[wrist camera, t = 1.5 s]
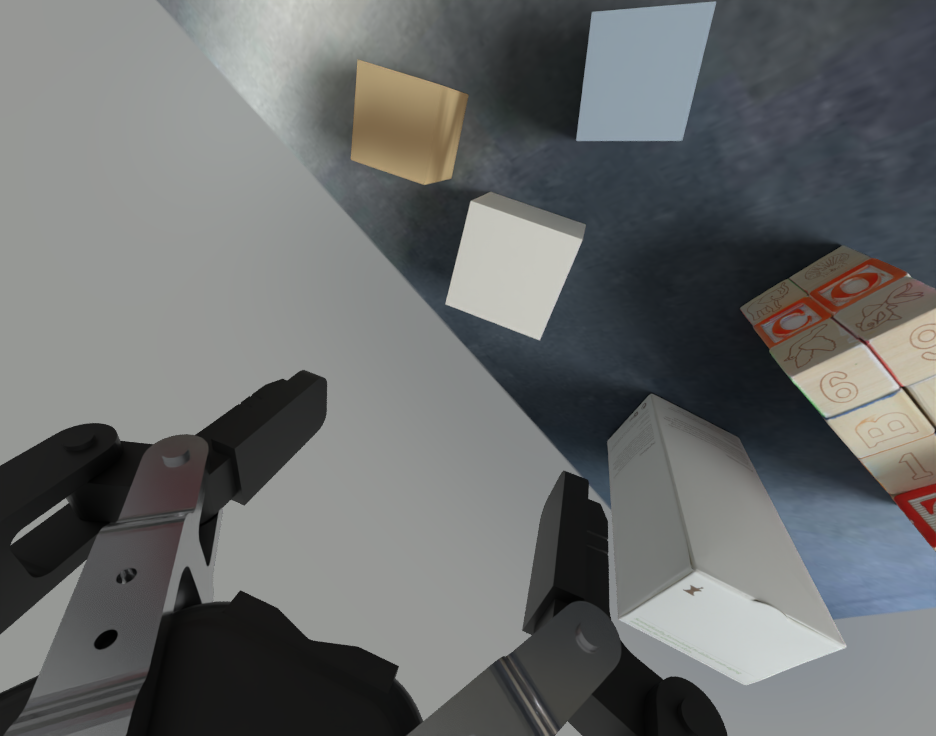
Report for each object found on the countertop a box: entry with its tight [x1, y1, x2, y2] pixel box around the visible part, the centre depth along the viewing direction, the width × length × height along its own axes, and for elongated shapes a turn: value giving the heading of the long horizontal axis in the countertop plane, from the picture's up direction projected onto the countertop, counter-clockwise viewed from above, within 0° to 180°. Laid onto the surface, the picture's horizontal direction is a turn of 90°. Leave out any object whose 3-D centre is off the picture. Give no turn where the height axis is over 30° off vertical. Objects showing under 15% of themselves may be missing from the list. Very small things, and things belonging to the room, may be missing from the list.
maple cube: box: [351, 60, 468, 185], centre depth 24 cm, size 5×5×5 cm
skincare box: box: [607, 394, 846, 685], centre depth 26 cm, size 8×7×16 cm
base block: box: [446, 192, 586, 340], centre depth 26 cm, size 7×7×5 cm
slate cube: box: [576, 2, 716, 141], centre depth 20 cm, size 5×5×5 cm
